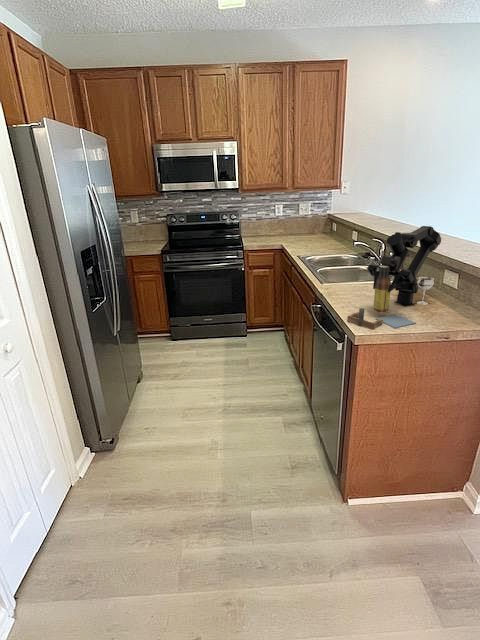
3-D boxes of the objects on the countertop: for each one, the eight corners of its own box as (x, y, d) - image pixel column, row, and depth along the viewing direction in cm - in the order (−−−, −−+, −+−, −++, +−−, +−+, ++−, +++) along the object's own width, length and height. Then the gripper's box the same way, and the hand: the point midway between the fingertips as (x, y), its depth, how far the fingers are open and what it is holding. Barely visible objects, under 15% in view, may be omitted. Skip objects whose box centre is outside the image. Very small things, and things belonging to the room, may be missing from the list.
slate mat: (395, 315, 160) (395, 314, 159) (415, 323, 150) (415, 322, 150) (375, 319, 156) (375, 318, 156) (394, 328, 146) (395, 327, 146)
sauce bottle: (385, 307, 161) (390, 263, 154) (391, 312, 156) (396, 267, 148) (370, 308, 161) (374, 264, 153) (375, 313, 155) (380, 267, 148)
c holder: (356, 317, 159) (358, 302, 156) (382, 324, 150) (384, 308, 148) (346, 322, 154) (347, 306, 152) (372, 330, 146) (374, 313, 143)
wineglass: (431, 305, 169) (436, 280, 165) (416, 305, 171) (419, 280, 166) (428, 301, 175) (432, 276, 171) (413, 300, 177) (416, 276, 172)
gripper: (371, 245, 157) (354, 276, 155) (414, 251, 144) (396, 284, 142) (379, 260, 165) (363, 289, 163) (420, 266, 152) (404, 298, 149)
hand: (380, 290), depth 154 cm, fingers closed on sauce bottle, 6 cm apart
